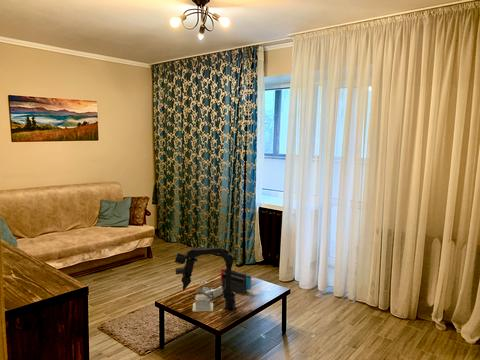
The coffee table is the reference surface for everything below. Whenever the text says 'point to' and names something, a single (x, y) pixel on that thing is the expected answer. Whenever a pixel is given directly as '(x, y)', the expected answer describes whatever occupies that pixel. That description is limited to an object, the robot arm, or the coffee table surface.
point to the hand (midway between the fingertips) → (183, 287)
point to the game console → (237, 281)
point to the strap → (203, 293)
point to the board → (202, 309)
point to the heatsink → (202, 302)
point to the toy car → (211, 290)
